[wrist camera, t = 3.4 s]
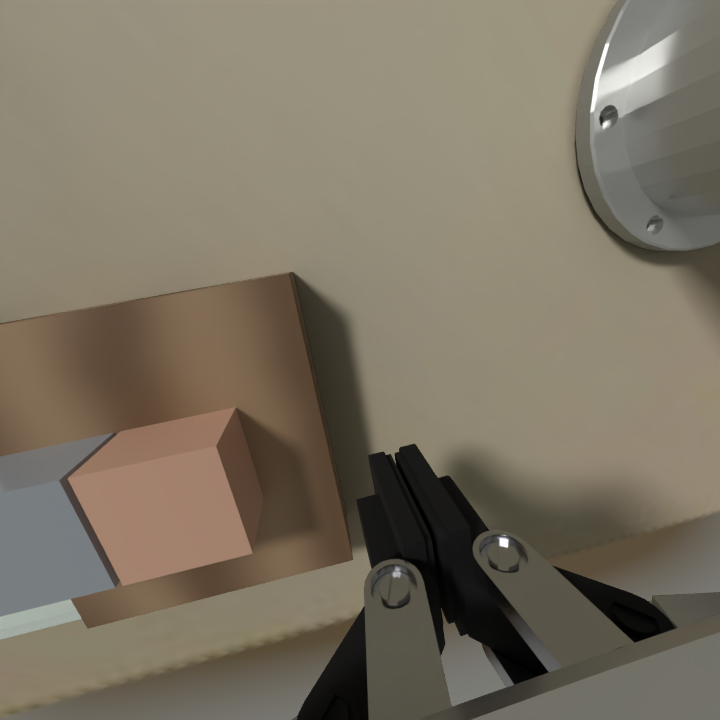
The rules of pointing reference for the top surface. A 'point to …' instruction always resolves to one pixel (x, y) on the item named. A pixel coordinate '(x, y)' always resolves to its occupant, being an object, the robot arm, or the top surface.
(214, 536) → the salmon pink block
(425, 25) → the top surface
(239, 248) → the top surface
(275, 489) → the square wooden board
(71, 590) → the tile slate
